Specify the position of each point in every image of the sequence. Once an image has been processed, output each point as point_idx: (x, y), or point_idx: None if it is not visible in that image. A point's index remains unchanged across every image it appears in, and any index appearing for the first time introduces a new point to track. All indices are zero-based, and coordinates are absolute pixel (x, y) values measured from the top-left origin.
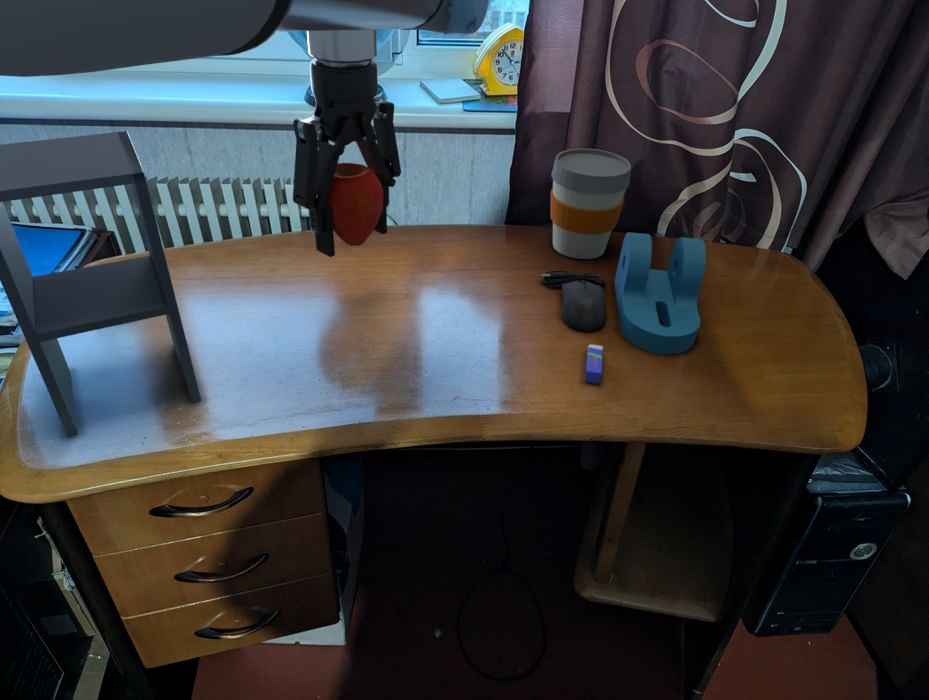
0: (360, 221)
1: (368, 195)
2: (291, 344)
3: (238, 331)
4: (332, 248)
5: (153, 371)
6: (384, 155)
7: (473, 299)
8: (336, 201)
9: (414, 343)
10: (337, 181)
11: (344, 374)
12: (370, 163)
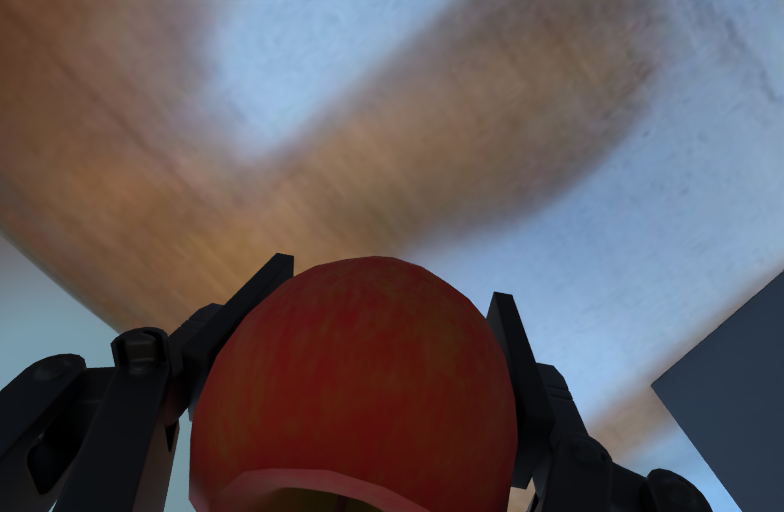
0: (449, 284)
1: (390, 335)
2: (564, 252)
3: (572, 345)
4: (505, 306)
5: None
6: (17, 506)
7: (200, 32)
8: (515, 425)
9: (431, 41)
10: None
11: (607, 101)
12: (151, 510)
